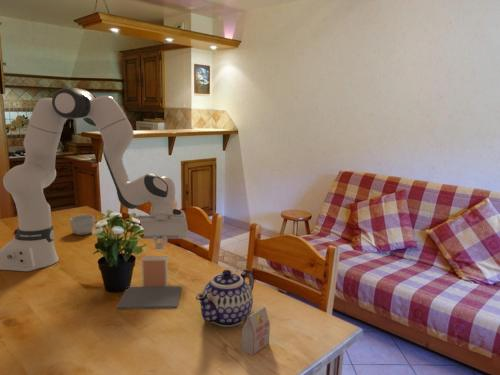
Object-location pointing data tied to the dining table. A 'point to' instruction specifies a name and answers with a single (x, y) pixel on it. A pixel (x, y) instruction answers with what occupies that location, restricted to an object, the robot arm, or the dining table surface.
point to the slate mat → (150, 297)
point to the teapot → (227, 298)
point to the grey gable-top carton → (256, 332)
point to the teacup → (82, 224)
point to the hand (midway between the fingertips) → (159, 248)
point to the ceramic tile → (154, 271)
